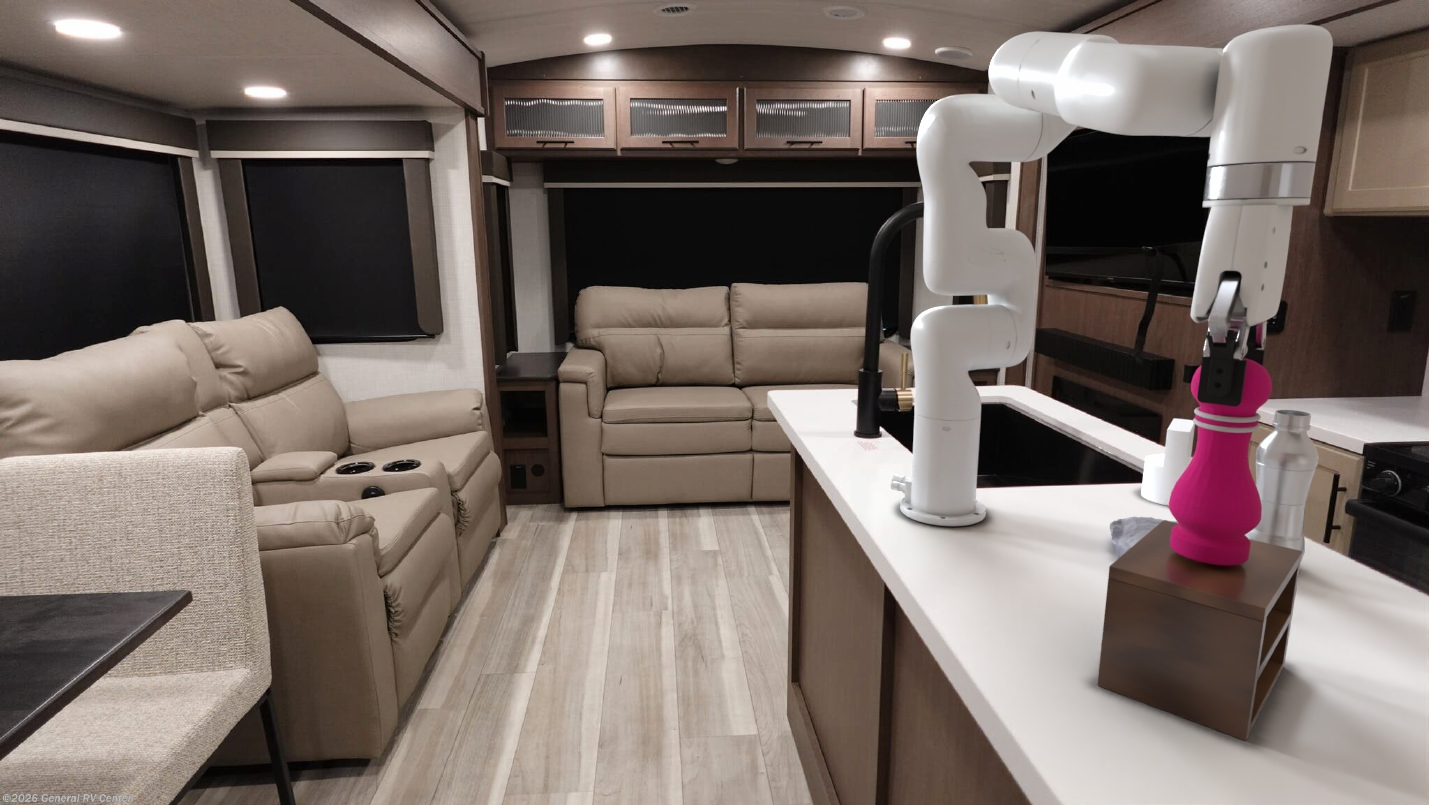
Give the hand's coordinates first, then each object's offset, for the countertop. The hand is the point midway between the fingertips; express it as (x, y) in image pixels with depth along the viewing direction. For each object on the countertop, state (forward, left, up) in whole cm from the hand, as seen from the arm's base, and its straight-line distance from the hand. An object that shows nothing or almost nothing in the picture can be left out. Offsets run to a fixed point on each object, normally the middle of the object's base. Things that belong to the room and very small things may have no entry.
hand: (1228, 395), depth 70 cm
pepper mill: (0, 0, -15) cm, 15 cm away
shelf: (0, 0, -28) cm, 28 cm away
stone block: (-12, +28, -28) cm, 41 cm away
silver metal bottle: (0, +35, -28) cm, 45 cm away
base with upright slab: (-16, +55, -28) cm, 64 cm away
